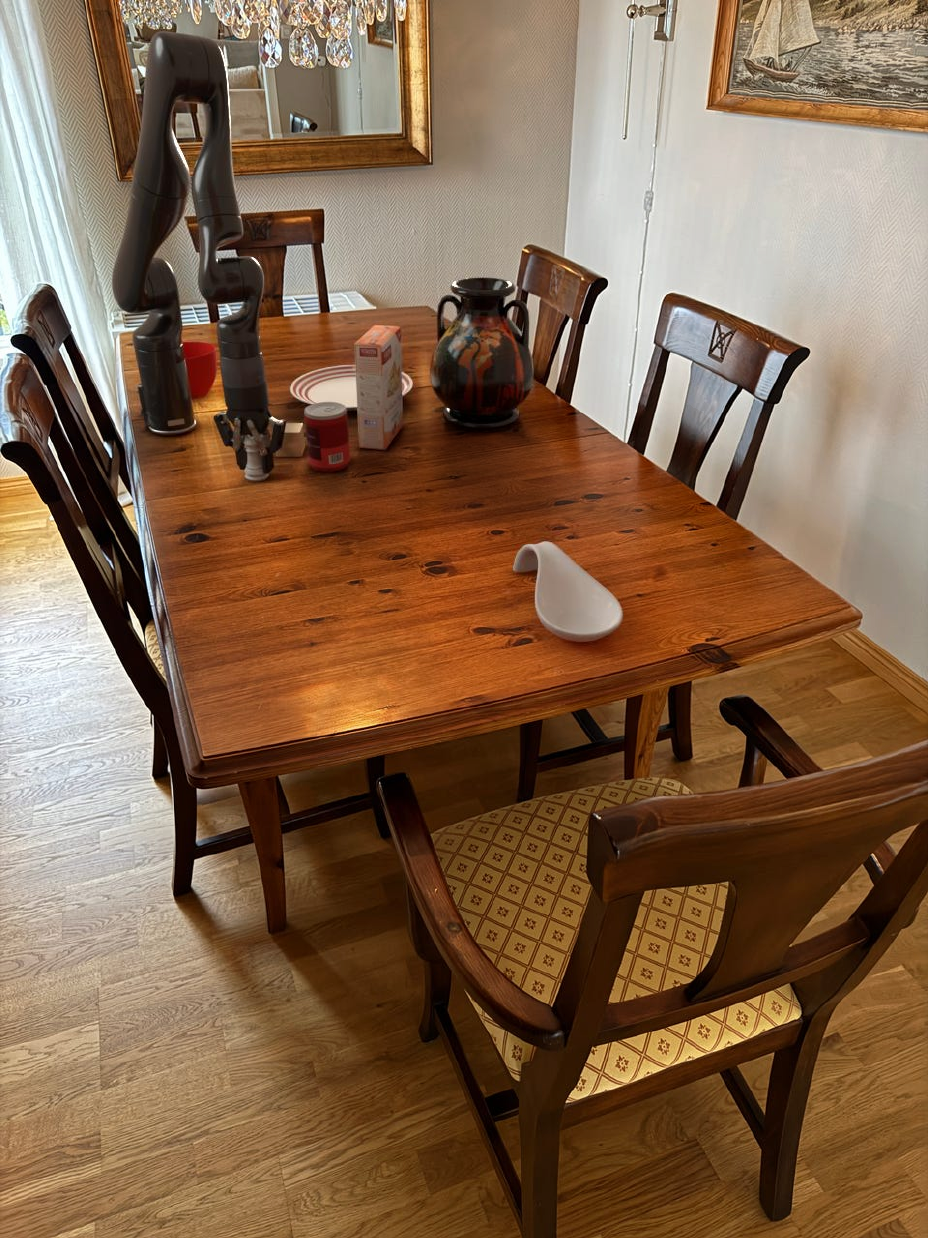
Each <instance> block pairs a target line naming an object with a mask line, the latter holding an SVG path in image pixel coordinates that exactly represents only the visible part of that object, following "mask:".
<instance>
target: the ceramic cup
mask: <svg viewBox="0 0 928 1238" xmlns="http://www.w3.org/2000/svg"><path fill="white" fill-rule="evenodd" d="M182 345H183V351H184V357H185V362H186V368H187V374H188V380H189V386H190V392H191V398H192V399H196V398H197V399H198V398H202V397H204V396H206V395H208V393H209V392H210V390H211V389H212V387H213V385H214V383H215V381H216V378H217V373H218V356H217V355H218V354H217V348H216V346H215V345H214V344H212V343H210V342H206V341H205V342H204V341H182Z"/></svg>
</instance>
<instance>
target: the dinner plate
mask: <svg viewBox="0 0 928 1238" xmlns="http://www.w3.org/2000/svg"><path fill="white" fill-rule="evenodd" d="M413 386H414V383H413V380H412V378H411V377H410V376H409V375H408V374H406V373H405V372H404V371H402V398H403V397H405V396H406V395H407V394H408V393H409V392H411V390H412V389H413ZM289 391H290V394H291V396H293V398H295V399H297V400H298V401H299V402H301V403H304V404H307V405H309V406H310V405H312V404H316V403H321V402H336V403H340V404H343V405H345V406H346V410H347V412H357V392H356V372H355V364H345V365H335V366H329V367H324V368H318V369H315V370H312V371H309V372H307V373H305V374H302V375H301V376H299V377H297V378H296V379H294V381H292V383H291V385H290V387H289Z"/></svg>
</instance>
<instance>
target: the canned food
mask: <svg viewBox="0 0 928 1238" xmlns="http://www.w3.org/2000/svg"><path fill="white" fill-rule="evenodd" d="M303 414H304V415H303V416H304V424H305V436H306V445H307V455H308V463H309V465H310V468H311V469H313V470H314V471H317V472H323V473H332V472H338V471H341V470H343V469H346V468H347V467H348V466H349V465H350V462H351V454H350V453H351V452H350V437H349V436H350V435H349V422H348V420H349V419H348V411H347V410H346V406H345V405H343V404H340V403H336V402H321V403H316V404H312V405H310V404H309V405H308V406H306V407H305V408H304V413H303Z"/></svg>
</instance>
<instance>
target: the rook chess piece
mask: <svg viewBox="0 0 928 1238" xmlns="http://www.w3.org/2000/svg"><path fill="white" fill-rule="evenodd" d="M243 443H244V444H245V448H246V451H247V465H246V468H245V470H243V472H244V478H245V479H246V480H247V481H249V482H255V483H256V482H262V481H265V480H266V479H268V477H269V475H270V473H268V474H265V473H263V467H262V459H261V455H262V453H261V451H260V448H259V446H258V444H256V443H255V440H254V438H253V437H252V436H250V435H246V437H245V440H244V441H243Z"/></svg>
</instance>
